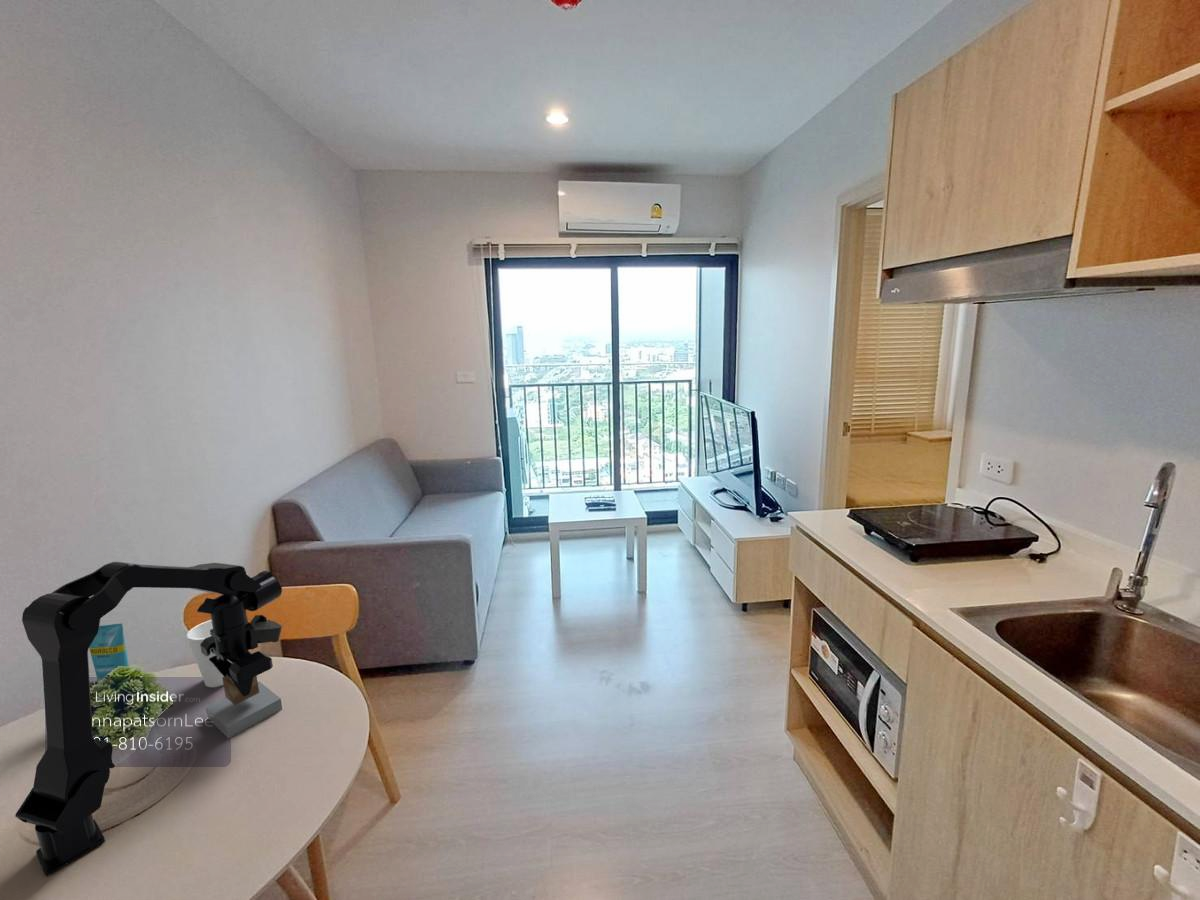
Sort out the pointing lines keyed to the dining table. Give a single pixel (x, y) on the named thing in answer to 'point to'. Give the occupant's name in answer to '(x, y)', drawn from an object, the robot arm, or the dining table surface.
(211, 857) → the dining table surface
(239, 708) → the block
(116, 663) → the tube
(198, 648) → the foam cup
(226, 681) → the walnut cube
